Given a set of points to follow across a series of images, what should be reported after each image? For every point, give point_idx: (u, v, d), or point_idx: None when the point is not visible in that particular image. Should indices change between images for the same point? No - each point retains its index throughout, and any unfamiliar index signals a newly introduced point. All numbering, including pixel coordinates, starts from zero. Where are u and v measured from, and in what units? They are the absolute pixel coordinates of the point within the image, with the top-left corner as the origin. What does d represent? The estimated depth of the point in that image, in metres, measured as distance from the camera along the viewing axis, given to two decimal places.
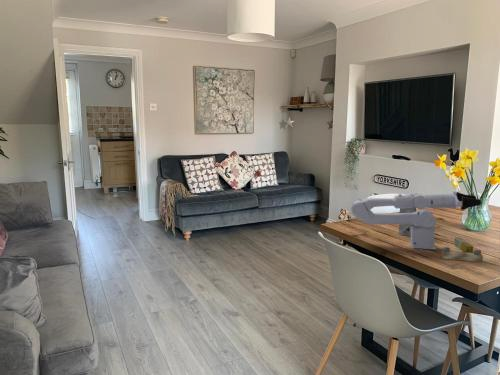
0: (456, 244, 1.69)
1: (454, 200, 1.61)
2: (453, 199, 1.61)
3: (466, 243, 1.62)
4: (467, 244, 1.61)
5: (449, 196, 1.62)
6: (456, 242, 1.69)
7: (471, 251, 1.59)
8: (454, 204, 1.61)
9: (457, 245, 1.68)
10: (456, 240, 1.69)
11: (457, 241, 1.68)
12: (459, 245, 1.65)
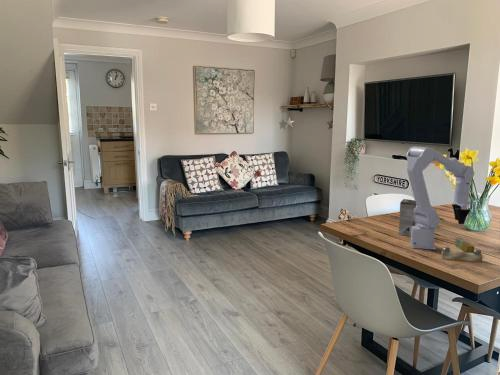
0: (457, 245, 1.69)
1: (464, 203, 1.70)
2: (465, 202, 1.70)
3: (467, 243, 1.62)
4: (468, 244, 1.61)
5: (468, 198, 1.70)
6: (457, 242, 1.69)
7: (472, 251, 1.59)
8: (459, 202, 1.71)
9: (458, 245, 1.68)
10: (457, 240, 1.69)
11: (457, 241, 1.68)
12: (460, 245, 1.65)
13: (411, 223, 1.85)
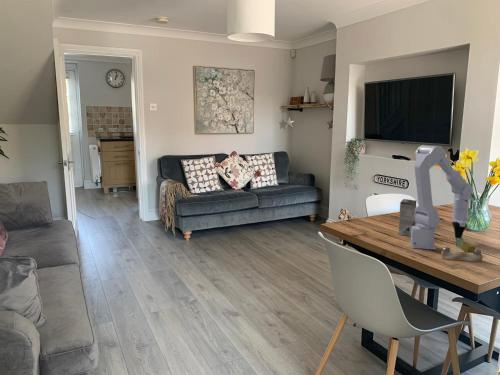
0: (457, 245, 1.69)
1: (462, 219, 1.71)
2: (463, 219, 1.71)
3: (468, 243, 1.62)
4: (469, 244, 1.61)
5: (466, 215, 1.72)
6: (457, 242, 1.69)
7: (473, 251, 1.59)
8: (458, 219, 1.72)
9: (458, 245, 1.68)
10: (457, 240, 1.69)
11: (458, 241, 1.68)
12: (461, 245, 1.65)
13: (411, 223, 1.85)
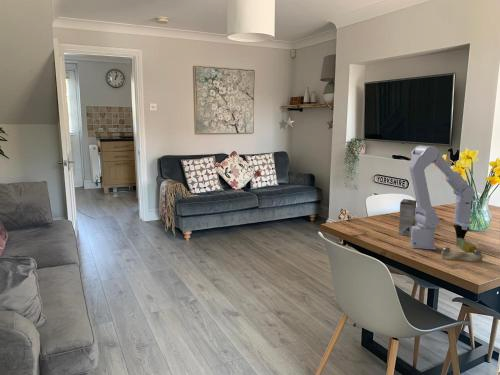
0: (458, 244, 1.69)
1: (464, 222, 1.67)
2: (465, 221, 1.67)
3: (469, 243, 1.62)
4: (470, 244, 1.61)
5: (468, 218, 1.68)
6: (458, 242, 1.69)
7: None
8: (460, 222, 1.68)
9: (459, 245, 1.68)
10: (458, 240, 1.68)
11: (459, 241, 1.68)
12: (462, 245, 1.65)
13: (411, 223, 1.85)
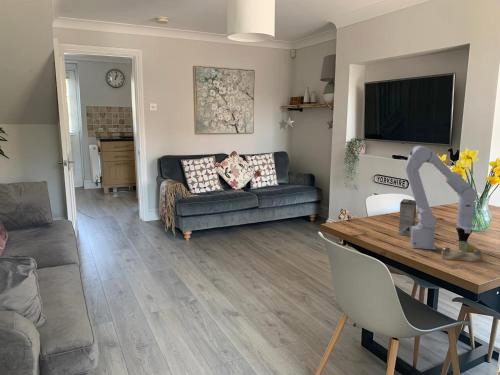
0: (461, 248, 1.64)
1: (467, 225, 1.62)
2: (468, 225, 1.62)
3: (472, 246, 1.57)
4: (474, 247, 1.56)
5: (471, 221, 1.62)
6: (461, 245, 1.63)
7: None
8: (463, 225, 1.63)
9: (462, 248, 1.63)
10: (461, 243, 1.63)
11: (462, 244, 1.63)
12: (465, 249, 1.60)
13: (411, 223, 1.85)
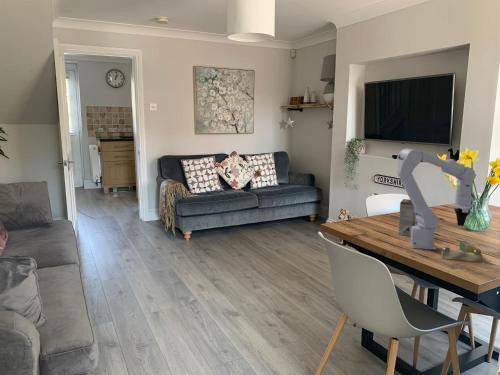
0: (461, 248, 1.64)
1: (465, 205, 1.64)
2: (466, 204, 1.64)
3: (473, 247, 1.57)
4: (474, 248, 1.56)
5: (469, 201, 1.65)
6: (461, 246, 1.63)
7: None
8: (461, 205, 1.65)
9: (463, 249, 1.63)
10: (461, 244, 1.63)
11: (462, 245, 1.63)
12: (466, 249, 1.60)
13: (411, 223, 1.85)
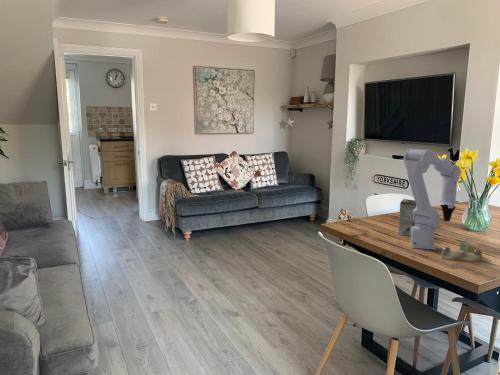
0: (462, 248, 1.64)
1: (451, 201, 1.72)
2: (452, 201, 1.72)
3: (473, 247, 1.57)
4: (475, 248, 1.56)
5: (454, 197, 1.73)
6: (462, 246, 1.63)
7: None
8: (447, 201, 1.73)
9: (463, 249, 1.63)
10: (462, 244, 1.63)
11: (462, 245, 1.63)
12: (466, 249, 1.60)
13: (411, 223, 1.85)
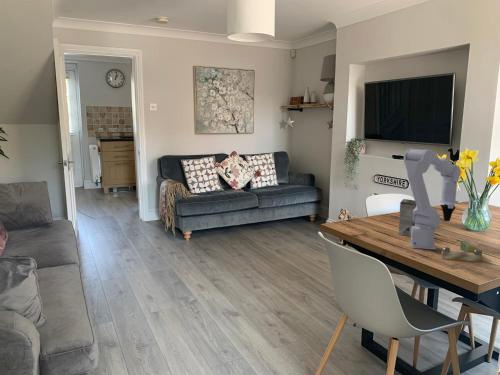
0: (462, 248, 1.64)
1: (451, 201, 1.72)
2: (452, 201, 1.72)
3: (474, 247, 1.57)
4: (475, 248, 1.56)
5: (454, 197, 1.73)
6: (462, 246, 1.63)
7: None
8: (447, 201, 1.73)
9: (463, 249, 1.63)
10: (462, 244, 1.63)
11: (463, 245, 1.63)
12: (466, 249, 1.60)
13: (411, 223, 1.85)
